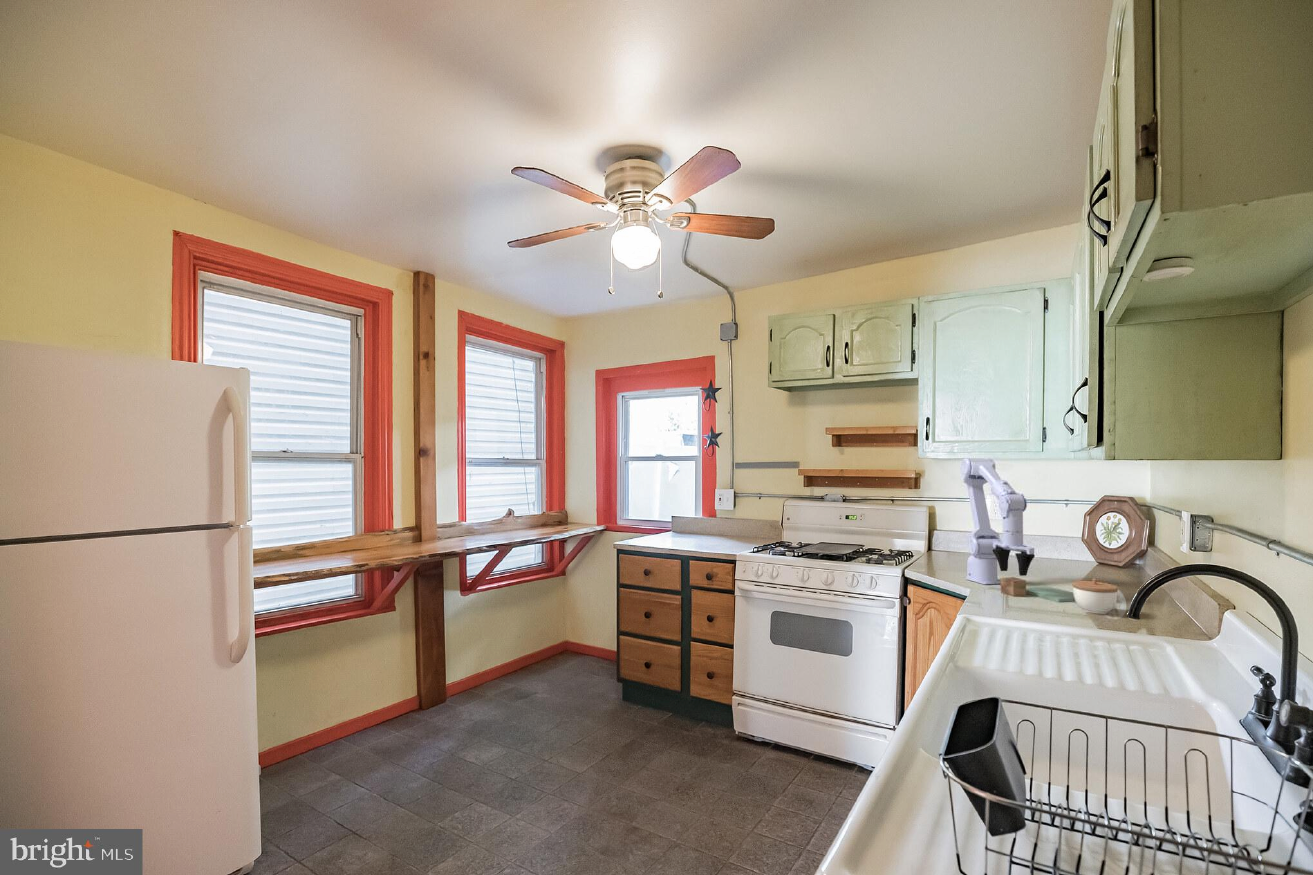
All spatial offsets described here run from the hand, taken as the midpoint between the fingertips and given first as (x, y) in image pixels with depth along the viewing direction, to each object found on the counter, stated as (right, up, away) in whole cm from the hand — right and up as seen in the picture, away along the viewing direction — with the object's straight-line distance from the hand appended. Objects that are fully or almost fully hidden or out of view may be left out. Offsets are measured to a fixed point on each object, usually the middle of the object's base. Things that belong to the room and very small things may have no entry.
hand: (1013, 573), depth 198 cm
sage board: (+12, -7, -1) cm, 14 cm away
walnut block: (0, -7, 0) cm, 7 cm away
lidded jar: (+12, -7, -21) cm, 25 cm away
